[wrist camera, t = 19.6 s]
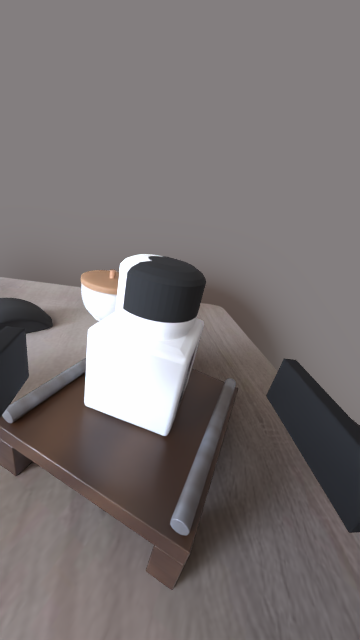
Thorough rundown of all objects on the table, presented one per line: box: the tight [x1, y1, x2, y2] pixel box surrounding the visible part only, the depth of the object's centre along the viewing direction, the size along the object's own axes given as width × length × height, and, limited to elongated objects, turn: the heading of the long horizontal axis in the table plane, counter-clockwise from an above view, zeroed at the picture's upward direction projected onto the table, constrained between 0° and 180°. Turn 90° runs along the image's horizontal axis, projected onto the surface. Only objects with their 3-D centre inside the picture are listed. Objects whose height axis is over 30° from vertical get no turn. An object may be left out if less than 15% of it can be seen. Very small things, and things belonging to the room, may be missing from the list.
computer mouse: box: [0, 298, 53, 333], centre depth 36 cm, size 6×11×4 cm, turn 139°
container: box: [84, 254, 206, 436], centre depth 20 cm, size 8×8×13 cm
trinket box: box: [81, 270, 119, 321], centre depth 45 cm, size 11×11×9 cm
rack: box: [0, 357, 238, 590], centre depth 23 cm, size 16×16×6 cm
